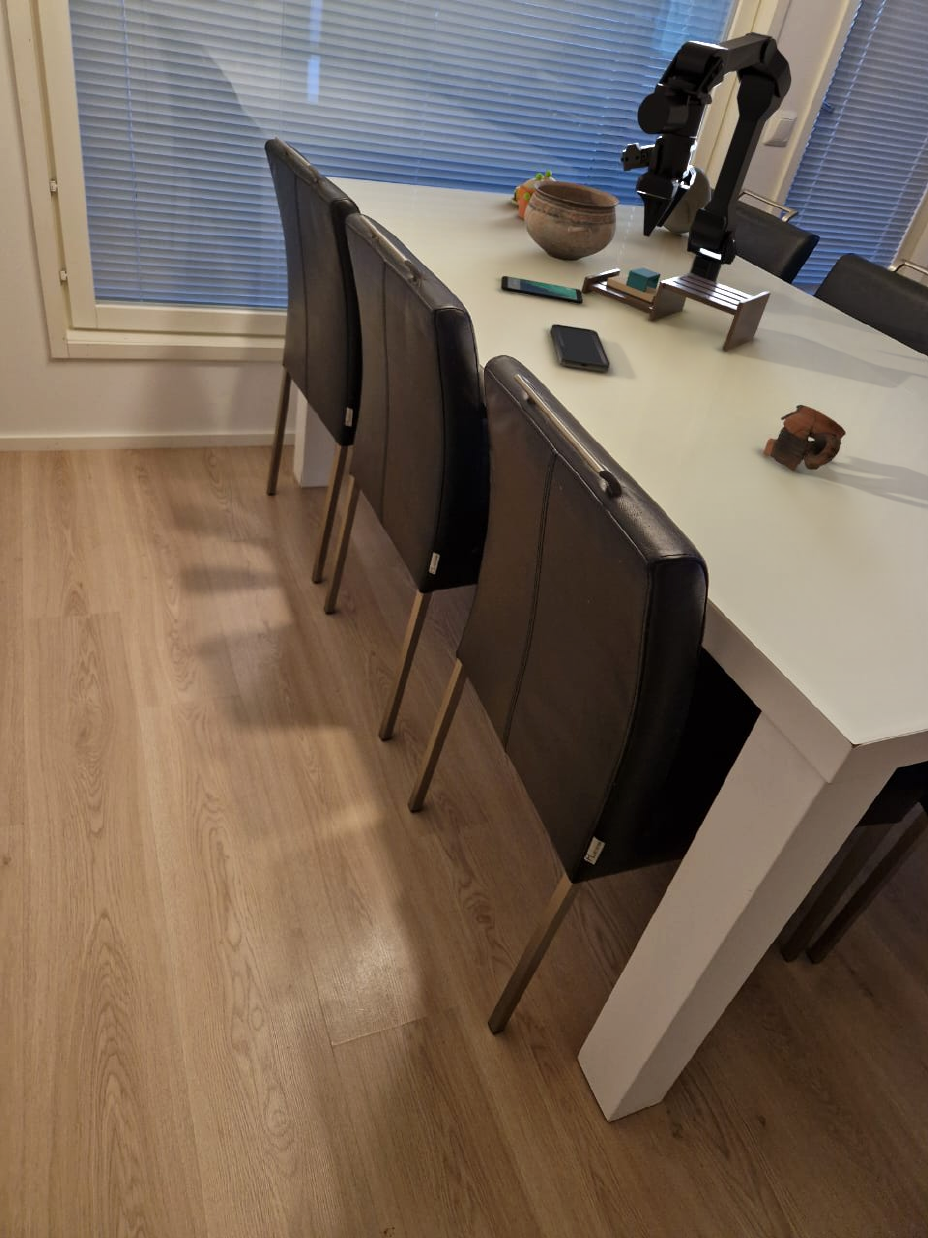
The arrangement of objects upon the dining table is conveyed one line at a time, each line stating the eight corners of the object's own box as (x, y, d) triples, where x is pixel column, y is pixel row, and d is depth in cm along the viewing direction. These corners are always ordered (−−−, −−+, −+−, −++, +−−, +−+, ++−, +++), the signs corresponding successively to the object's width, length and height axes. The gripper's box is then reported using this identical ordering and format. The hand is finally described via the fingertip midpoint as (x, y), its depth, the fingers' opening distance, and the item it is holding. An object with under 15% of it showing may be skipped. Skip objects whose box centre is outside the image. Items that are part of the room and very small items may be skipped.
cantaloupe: (707, 235, 216) (728, 170, 207) (687, 244, 206) (708, 175, 197) (656, 219, 221) (674, 154, 212) (634, 227, 211) (652, 159, 202)
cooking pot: (620, 281, 173) (637, 216, 166) (528, 269, 170) (542, 202, 162) (592, 243, 192) (606, 184, 185) (509, 231, 189) (520, 170, 181)
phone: (596, 330, 144) (611, 365, 133) (594, 336, 145) (609, 372, 133) (550, 323, 143) (560, 358, 132) (548, 329, 144) (559, 365, 132)
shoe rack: (613, 283, 171) (625, 238, 166) (753, 339, 158) (771, 292, 153) (580, 292, 163) (592, 246, 158) (725, 351, 150) (743, 303, 145)
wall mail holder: (618, 280, 166) (624, 259, 164) (663, 298, 162) (670, 277, 160) (605, 284, 163) (611, 263, 161) (651, 302, 159) (657, 280, 156)
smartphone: (501, 274, 161) (580, 288, 162) (501, 278, 161) (579, 293, 162) (501, 286, 155) (583, 301, 156) (500, 290, 156) (582, 305, 157)
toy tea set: (584, 232, 199) (595, 187, 193) (519, 223, 196) (528, 176, 190) (561, 202, 219) (570, 160, 213) (501, 193, 216) (509, 150, 210)
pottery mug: (745, 445, 122) (782, 393, 120) (789, 477, 126) (825, 428, 124) (794, 467, 111) (835, 411, 109) (841, 501, 115) (881, 448, 113)
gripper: (647, 117, 153) (623, 210, 163) (619, 126, 139) (594, 228, 149) (708, 132, 151) (680, 226, 160) (685, 143, 137) (656, 246, 146)
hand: (652, 231), depth 154 cm, fingers open, 9 cm apart
